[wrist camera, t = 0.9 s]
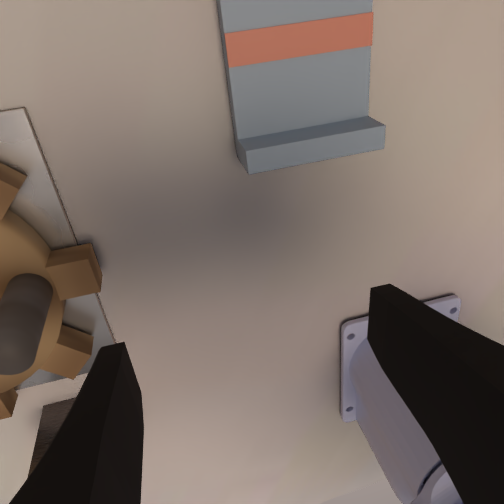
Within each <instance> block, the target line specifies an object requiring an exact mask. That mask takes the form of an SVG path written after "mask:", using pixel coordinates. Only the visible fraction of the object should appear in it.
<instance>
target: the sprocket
mask: <svg viewBox="0 0 504 504" xmlns="http://www.w3.org/2000/svg"><path fill="white" fill-rule="evenodd" d="M26 177H27V176H25V175H23V174H21V173H20V172H18V171H16V170H14V169H12V168H10V167H8V166H6V165H4V164H2V163H0V419H4V418H8V417H12V414H13V410H14V407H15V404H16V400H17V397H18V394H17V393H16V391H15V390H14V388H13V387H15V386H17V385H19V384H20V383H22V382H23V381H25V380H26V379H28V378H29V377H31V376H32V375H33V374H34V373H35V372H36V371H37V370H38V369H41V370H45V371H48V372H51V373H54V374H57V375H60V376H64V377H67V378H70V379H73V380H74V378H75V377H76V376H77V374H78V373H79V372H80V370H81V369H82V368H83V366H84V365H85V364H86V362H87V361H88V360H89V358H90V357H91V355H92V347H93V339H94V336H91V335H88V334H86V333H83V332H80V331H78V330H75V329H72V328H70V327H67V326H64V325H62V320H63V315H64V310H65V305H66V299H70V298H75V297H79V296H84V295H89V294H93V293H98V292H100V291H101V283H102V272H101V270H100V267H99V264H98V261H97V259H96V256H95V253H94V250H93V248H92V245H91V243H88V244H83V245H78V246H74V247H69V248H64V249H59V250H54V251H51V250H50V248H49V247H48V245H47V244H46V242H45V241H44V240H43V239H42V238H41V237H40V236H39V234H38V233H37V232H36V231H35V230H34V229H33V228H32V227H31V226H30V225H28V224H27V223H26V222H25V221H24V220H23V219H21V218H20V217H19V216H17V215H16V214H15V213H13V212H12V211H10V210H9V209H8V208H9V207H10V205H11V203H12V201H13V200H14V198H15V196H16V195H17V193H18V191H19V189H20V188H21V186H22V184H23V183H24V181H25V179H26Z"/></svg>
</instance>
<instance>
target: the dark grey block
mask: <svg viewBox="0 0 504 504" xmlns="http://www.w3.org/2000/svg"><path fill="white" fill-rule="evenodd" d="M75 399H76V398H72V399H68V400H64V401H60V402H56V403H52V404H48V405H44V406H43V411H42V415H41V420H40V424H39V429H38V433H37V438H36V442H35V447H34V452H33V456H32V461H31V465H30V470H29V474H28V477H29V476H30V474H31V473H32V471H33V470H34V468H35V467H36V465H37V464H38V462H39V461H40V459H41V458H42V456H43V455H44V453H45V451H46V450H47V448H48V447H49V445H50V443H51V442H52V440H53V438H54V437H55V435H56V433H57V432H58V430H59V428H60V426H61V425H62V423H63V421H64V420H65V418H66V416H67V414H68V412H69V411H70V409H71V407H72V405H73V403H74V401H75Z"/></svg>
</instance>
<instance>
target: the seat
mask: <svg viewBox="0 0 504 504" xmlns="http://www.w3.org/2000/svg"><path fill="white" fill-rule="evenodd" d="M372 3H373V0H217V7H218V15H219V22H220V30H221V38H222V45H223V53H224V60H225V68H226V76H227V83H228V91H229V98H230V106H231V114H232V121H233V129H234V136H235V144H236V151H237V157H238V158H239V160H240V162H241V163H242V165H243V166H244V168H245V170H246V171H247V173H248V174H249V175H250V174H255V173H260V172H265V171H270V170H276V169H281V168H286V167H291V166H296V165H302V164H307V163H312V162H317V161H322V160H328V159H333V158H338V157H343V156H348V155H354V154H359V153H364V152H369V151H374V150H380V149H384V144H385V128H386V125H384V124H382V123H380V122H378V121H376V120H375V119H373V118H371V117H369V116H368V110H369V83H370V57H371V45H372V34H373V12H372Z"/></svg>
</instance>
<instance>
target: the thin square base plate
mask: <svg viewBox="0 0 504 504" xmlns="http://www.w3.org/2000/svg"><path fill="white" fill-rule="evenodd" d="M0 163H2V164H4V165H6V166H8V167H10V168H12V169H14V170H16V171H18V172H20V173H21V174H23V175H25V176H27V177H26V179H25V181H24V183H23V184H22V186H21V188H20V189H19V191H18V193H17V195H16V196H15V198H14V200H13V201H12V203H11V205H10V207H9V208H8V209H9V210H10V211H12V212H13V213H15V214H16V215H17V216H19V217H20V218H21V219H23V220H24V221H25V222H26V223H27V224H28V225H30V226H31V227H32V228H33V229H34V230H35V231H36V232H37V233H38V234H39V236H40V237H41V238H42V239H43V240H44V241H45V242H46V244H47V245H48V247H49V248H50V250H51V251H54V250H59V249H64V248H69V247H74V246H78V244H77V241H76V239H75V236H74V233H73V231H72V228H71V226H70V223H69V220H68V218H67V215H66V213H65V210H64V207H63V205H62V202H61V199H60V197H59V194H58V192H57V189H56V186H55V184H54V181H53V179H52V176H51V173H50V171H49V168H48V166H47V163H46V160H45V158H44V155H43V153H42V150H41V147H40V145H39V142H38V140H37V137H36V134H35V132H34V129H33V127H32V124H31V121H30V119H29V116H28V114H27V111H26V108H25V107H21V108H15V109H9V110H2V111H0ZM62 325H64V326H67V327H70V328H72V329H75V330H78V331H80V332H83V333H86V334H88V335H91V336H94V339H93V347H92V355H91V357H90V358H89V360H88V361H87V362H86V364H85V365H84V366H83V368H82V369H81V370H80V372H79V373H78V374H77V375H80V374H84V373H88V372H89V371H90V369H91V367H92V364H93V362H94V360H95V358H96V355H97V353H98V351H99V349H100V348H101V347H103V346H108V345H112V344H116V343H115V340H114V338H113V335H112V332H111V330H110V327H109V325H108V322H107V319H106V317H105V314H104V312H103V309H102V306H101V304H100V301H99V298H98V296H97V293H93V294H89V295H84V296H79V297H75V298H70V299H66V305H65V310H64V315H63V320H62ZM64 378H67V377H64V376H60V375H57V374H54V373H51V372H48V371H45V370H41V369H38V370H37V371H36V372H35V373H34V374H33V375H32V376H31V377H29V378H28V379H26V380H25V381H23V382H22V383H20V384H19V385H17V386H15V387H13V388H14V390H19V389H23V388H27V387H31V386H35V385H39V384H43V383H47V382H51V381H56V380H60V379H64Z"/></svg>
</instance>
